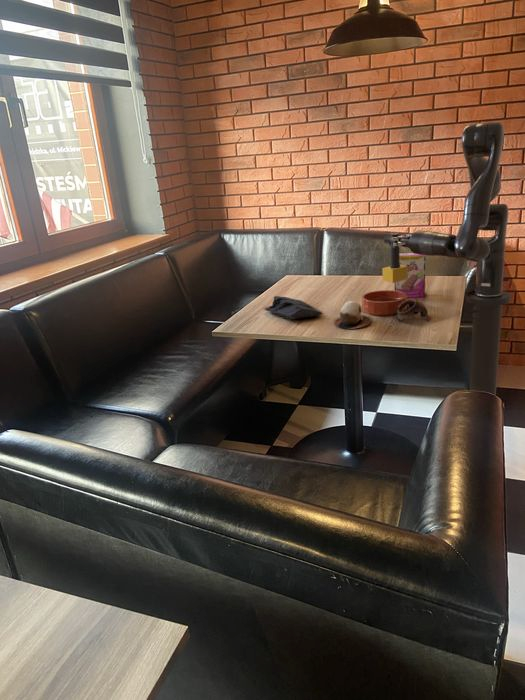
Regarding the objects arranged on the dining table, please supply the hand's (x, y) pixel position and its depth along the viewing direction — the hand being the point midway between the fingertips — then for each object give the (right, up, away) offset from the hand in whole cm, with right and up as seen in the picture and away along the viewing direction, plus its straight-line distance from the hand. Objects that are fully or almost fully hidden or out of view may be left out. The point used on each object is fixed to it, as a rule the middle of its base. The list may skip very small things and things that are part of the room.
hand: (388, 238), depth 184 cm
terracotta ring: (0, -24, +7) cm, 25 cm away
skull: (-13, -29, -4) cm, 32 cm away
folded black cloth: (-32, -25, +14) cm, 43 cm away
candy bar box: (+13, -18, +19) cm, 29 cm away
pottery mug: (+7, -28, -6) cm, 30 cm away
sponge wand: (+3, -14, +3) cm, 14 cm away
